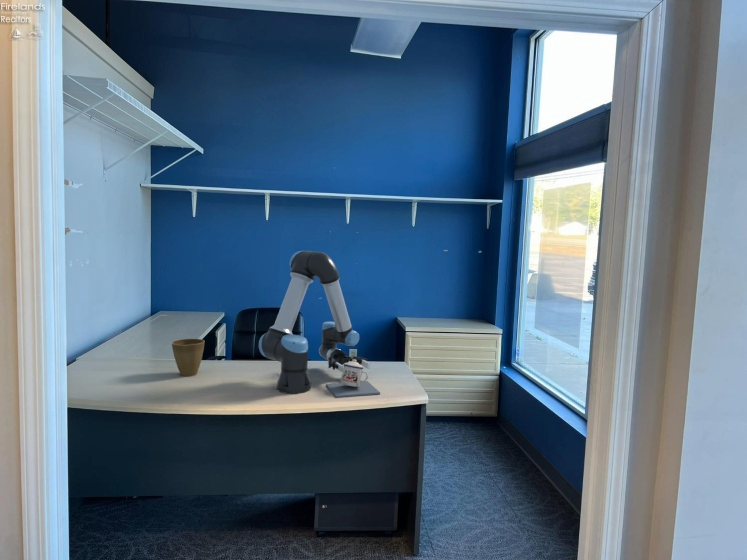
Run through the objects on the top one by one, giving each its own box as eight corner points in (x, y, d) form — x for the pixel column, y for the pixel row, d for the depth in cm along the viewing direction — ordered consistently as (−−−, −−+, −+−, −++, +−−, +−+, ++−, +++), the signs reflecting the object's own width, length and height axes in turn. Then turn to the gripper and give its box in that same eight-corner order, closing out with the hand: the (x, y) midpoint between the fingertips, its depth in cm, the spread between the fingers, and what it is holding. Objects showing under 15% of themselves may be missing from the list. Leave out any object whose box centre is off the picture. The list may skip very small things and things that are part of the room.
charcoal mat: (336, 397, 225) (336, 395, 225) (326, 385, 242) (326, 383, 242) (380, 394, 231) (380, 392, 231) (367, 382, 248) (367, 381, 248)
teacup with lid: (338, 383, 233) (343, 357, 234) (341, 383, 242) (346, 357, 243) (364, 388, 231) (369, 362, 233) (367, 387, 240) (371, 362, 242)
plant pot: (205, 369, 263) (205, 337, 261) (203, 377, 248) (203, 344, 247) (173, 370, 259) (173, 338, 258) (169, 379, 245) (169, 345, 243)
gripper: (359, 361, 266) (379, 372, 248) (312, 366, 255) (330, 378, 236) (359, 347, 266) (379, 356, 247) (313, 351, 254) (330, 361, 235)
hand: (355, 367), depth 241 cm, fingers open, 13 cm apart
